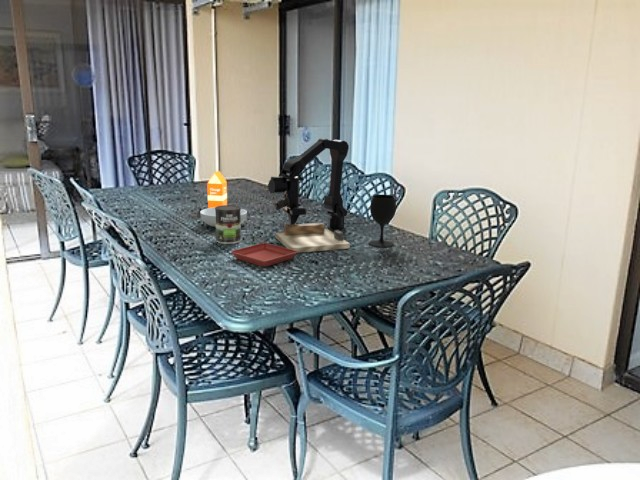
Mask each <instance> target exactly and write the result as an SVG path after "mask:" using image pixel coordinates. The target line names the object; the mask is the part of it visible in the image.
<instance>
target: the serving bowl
mask: <svg viewBox="0 0 640 480" xmlns="http://www.w3.org/2000/svg"><path fill="white" fill-rule="evenodd" d="M199 213H200V214H199V215H200V218H201V220H202V221H203V222H204V224H206V225H208V226H209V227H214V228H216V212H215V207H213V208H208V207H207V208H205V209H204V208H203V209H202V210H200V212H199ZM240 215H241V224H243V223H244V222H245V220H246V219H247V216H248V211H247V210H246V209H243V208H241V210H240Z"/></svg>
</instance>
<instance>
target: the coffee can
mask: <svg viewBox="0 0 640 480" xmlns="http://www.w3.org/2000/svg"><path fill="white" fill-rule="evenodd" d="M241 209H242V207H240V206H238V205H233V204H227V205H222V206H217V207H215V212H216V227H215V242H216V243H217V242H218V244H222V245H233V244H234V245H235V244H238V243H240V242H241V241H242V236H241V235H242V232H241V226H242V225H241V224H242V223H241V215H240V210H241Z"/></svg>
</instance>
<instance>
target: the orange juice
mask: <svg viewBox="0 0 640 480" xmlns="http://www.w3.org/2000/svg"><path fill="white" fill-rule="evenodd" d="M206 185H207V208H213V207H217V206H222V205H228V186H227V180H226V179H225V177H224V175H223V174H222V173H221V171H220V170H217V171H215V172H213V174H212V175H211V177H210V179H209V180H208V181H207V184H206Z"/></svg>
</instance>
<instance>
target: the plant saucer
mask: <svg viewBox="0 0 640 480" xmlns="http://www.w3.org/2000/svg"><path fill="white" fill-rule="evenodd" d="M297 252H298V251H295V250H291V249H287V248H286V247H285V246H283V247H282V246H281V245H275V244H271V243H268V242H261V243H257V244H254V245H250V246H249V245H248V246H246V247H242V248H237V249H234V250H231V251H230V253H231V254H232V255H233V256H234V257H235V258H236V259H237V260H239V261H243V262H247V263H250V264H254V265H257V266H259V267H264V268H265V267H269V266H272V265H275V264H279V263H282V262H286V261H287V260H291V259H293V258H294V257H295V256H296V254H298V253H299V252H298V253H297Z"/></svg>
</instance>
